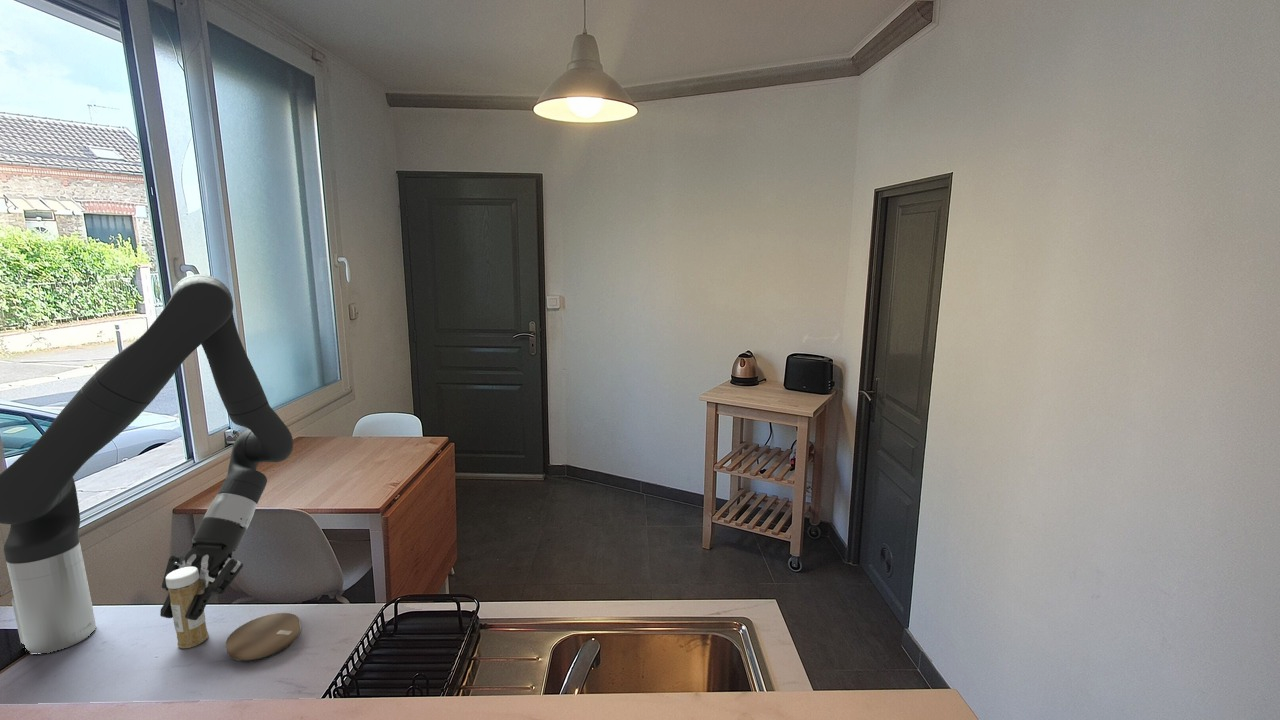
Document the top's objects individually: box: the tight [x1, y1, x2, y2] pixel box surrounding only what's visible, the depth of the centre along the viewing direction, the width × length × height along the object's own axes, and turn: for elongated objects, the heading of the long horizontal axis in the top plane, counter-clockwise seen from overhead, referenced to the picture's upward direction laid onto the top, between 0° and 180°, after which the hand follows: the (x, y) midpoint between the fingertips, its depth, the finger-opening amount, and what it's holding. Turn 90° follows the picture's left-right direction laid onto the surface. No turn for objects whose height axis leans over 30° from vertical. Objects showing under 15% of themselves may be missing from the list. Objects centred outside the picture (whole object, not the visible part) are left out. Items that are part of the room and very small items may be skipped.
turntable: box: [225, 612, 302, 661], centre depth 103 cm, size 11×11×2 cm
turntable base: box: [238, 641, 294, 663], centre depth 103 cm, size 9×9×1 cm
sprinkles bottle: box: [166, 567, 209, 649], centre depth 104 cm, size 5×5×14 cm
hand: (178, 617), depth 102 cm, fingers closed on sprinkles bottle, 4 cm apart
